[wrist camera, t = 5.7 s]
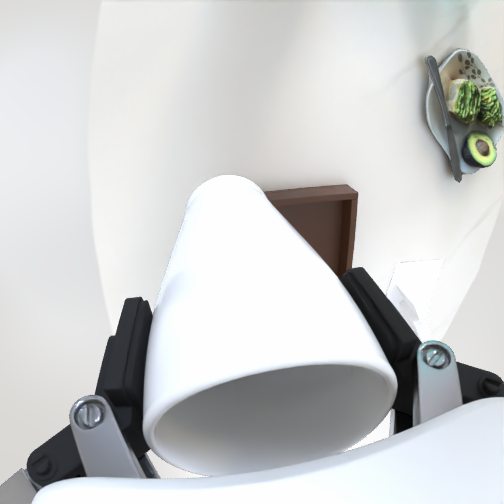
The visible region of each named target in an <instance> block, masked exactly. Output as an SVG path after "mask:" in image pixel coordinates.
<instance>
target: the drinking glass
mask: <svg viewBox="0 0 504 504" xmlns="http://www.w3.org/2000/svg"><path fill="white" fill-rule="evenodd" d="M397 390H398V383H397V378H396V375H395V372H394V370H393V368H392V367H391V365H390V363H389V361H388V360H387V358H386V356H385V354H384V352H383V350H382V348H381V346H380V344H379V342H378V340H377V338H376V336H375V335H374V333H373V331H372V329H371V327H370V326H369V324H368V322H367V320H366V319H365V317H364V315H363V314H362V312H361V310H360V309H359V307H358V306H357V304H356V303H355V301H354V300H353V298H352V297H351V295H350V294H349V292H348V291H347V289H346V288H345V287H344V285H343V284H342V282H341V281H340V280H339V278H338V277H337V276H336V275H335V273H334V272H333V271H332V269H331V268H330V267H329V266H328V265H327V263H326V262H325V261H324V260H323V259H322V258H321V256H320V255H319V254H318V253H317V252H316V251H315V250H314V249H313V247H312V246H311V245H310V244H309V243H308V242H307V241H306V240H305V239H304V238H303V237H302V235H301V234H300V233H299V232H298V231H297V230H296V229H295V228H294V227H293V226H292V225H291V224H290V223H289V222H288V220H287V219H286V218H285V217H284V216H283V215H282V214H281V213H280V212H279V211H278V210H277V209H276V208H275V206H274V205H273V204H272V203H271V202H270V201H269V200H268V198H267V197H266V195H265V194H264V192H263V191H262V190H261V189H260V188H259V187H258V186H257V185H256V184H255V183H254V182H252V181H250V180H248V179H246V178H244V177H240V176H236V175H222V176H217V177H214V178H211V179H209V180H207V181H205V182H204V183H202V184H201V185H200V186H199V187H198V188H197V189H196V190H195V191H194V192H193V193H192V195H191V196H190V198H189V200H188V203H187V205H186V209H185V215H184V220H183V222H182V225H181V228H180V231H179V234H178V237H177V240H176V243H175V246H174V248H173V251H172V254H171V257H170V260H169V263H168V266H167V269H166V272H165V275H164V278H163V281H162V284H161V287H160V291H159V294H158V298H157V301H156V305H155V309H154V313H153V317H152V322H151V327H150V332H149V338H148V345H147V353H146V362H145V374H144V390H143V426H142V430H143V435H144V438H145V441H146V443H147V444H148V446H149V447H150V449H151V450H152V451H153V452H154V453H155V454H156V455H157V456H158V457H160V458H161V459H162V460H164V461H165V462H167V463H169V464H171V465H173V466H175V467H177V468H180V469H182V470H185V471H188V472H191V473H195V474H200V475H205V476H210V477H214V476H225V475H234V474H242V473H250V472H257V471H263V470H269V469H275V468H280V467H286V466H291V465H295V464H300V463H304V462H309V461H313V460H317V459H321V458H325V457H329V456H332V455H336V454H339V453H341V452H343V451H345V450H346V449H348V448H350V447H352V446H353V445H355V444H356V443H358V442H359V441H361V440H362V439H363V438H365V437H366V436H367V435H368V434H370V433H371V432H372V431H373V430H374V429H375V428H376V427H377V426H378V425H379V424H380V423H381V422H382V421H383V419H384V418H385V417H386V415H387V414H388V412H389V411H390V410H391V408H392V406H393V404H394V401H395V399H396V395H397Z"/></svg>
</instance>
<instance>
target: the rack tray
mask: <svg viewBox="0 0 504 504" xmlns="http://www.w3.org/2000/svg"><path fill="white" fill-rule="evenodd" d="M264 194H265V195H266V197H267V198H268V200H269V201H270V202H271V203H272V204H273V205H274V206H275V208H276V209H277V210H278V211H279V212H280V213H281V214H282V215H283V216H284V217H285V218H286V219H287V220H288V222H289V223H290V224H291V225H292V226H293V227H294V228H295V229H296V230H297V231H298V232H299V233H300V234H301V235H302V237H303V238H304V239H305V240H306V241H307V242H308V243H309V244H310V245H311V246H312V247H313V249H314V250H315V251H316V252H317V253H318V254H319V255H320V256H321V258H322V259H323V260H324V261H325V262H326V263H327V265H328V266H329V267H330V268H331V269H332V271H333V272H334V273H335V275H336V276H337V277H338V278H339V280H340V281H341V280H342V275H343V274H345V273H346V271H347V270H348V269H352V260H353V250H354V240H355V229H356V216H357V201H358V192H357V191H355V190H354V189H352V188H351V187H350V186H348V185H347V184H346V185H333V186H321V187H309V188H298V189H288V190H278V191H269V192H264Z"/></svg>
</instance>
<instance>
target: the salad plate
mask: <svg viewBox="0 0 504 504" xmlns="http://www.w3.org/2000/svg"><path fill="white" fill-rule="evenodd" d="M425 64H426V68H427V71H428V74H429V85H428V90H427V94H426V119H427V122H428V125H429V127H430V129H431V131H432V133H433V135H434V136H435V138H436V140H437V141H438V142H439V144H440V145H441V146H442V148H443V149H444V150H445V152H446V153H447V155H448V157H449V160H450V164H451V168H452V172H453V175H454V178H455V180H456V181H458V182H459V183H460V181H461V180H462V177H461V176H462V175H463V174H472V173H475V172H477V171H478V170H479V169H480V168H484V167H488V166H490V165H492V164H493V162H494V161H495V159H496V156H497V153H496V150H497V149H496V148H495V146H496V144H497V142H498V141H499V139H500V137H501V135H502V133H503V131H504V102H503V99H502V97H501V95H500V93H499V91H498V89H497V87H496V86H495V84H494V82H493V81H492V78H491V77H490V75H489V74H488V72H487V69H486V68H485V67H484V65H483V63H482V62H481V60H480V59H479V58H478V56H477V55H476V54H474V53H473V52H471V51H469V50H465V49H460V48H459V49H456V50H455V51H454V52H453V53H451V54H450V55H449V56H448V57H447V58H446V59H445V60H444V62H443V63H442V65H441V66H439V68H438V66H437V63H436V60H435V58H434V57H433V56H426V57H425Z"/></svg>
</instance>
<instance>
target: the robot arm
mask: <svg viewBox="0 0 504 504" xmlns="http://www.w3.org/2000/svg"><path fill="white" fill-rule="evenodd" d="M341 282H342V284H343V285H344V287H345V288H346V289H347V291H348V292H349V294H350V295H351V297H352V298H353V300H354V301H355V303H356V304H357V306H358V307H359V309H360V310H361V312H362V314H363V315H364V317H365V319H366V320H367V322H368V324H369V326H370V327H371V329H372V331H373V333H374V335H375V336H376V338H377V340H378V342H379V344H380V346H381V348H382V350H383V352H384V354H385V356H386V358H387V360H388V361H389V363H390V365H391V367H392V368H393V370H394V372H395V375H396V378H397V383H398V390H397V395H396V399H395V401H394V404H393V406H392V408H391V416H390V432H389V437H388V438H385V439H382V440H379V441H377V442H374V443H371V444H368V445H365V446H362V447H359V448H356V449H353V450H349V451H346V452H343V453H339V454H336V455H332V456H329V457H325V458H321V459H317V460H313V461H309V462H304V463H300V464H295V465H291V466H286V467H280V468H275V469H269V470H263V471H257V472H250V473H242V474H234V475H225V476H214V477H200V478H175V479H161V478H160V476H159V475H158V473H157V471H156V469H155V468H154V466H153V464H152V462H151V460H150V459H149V457H148V455H147V453H146V452H147V451H149V450H150V447H149V446H148V444H147V443H146V441H145V438H144V435H143V430H142V426H143V390H144V374H145V362H146V353H147V345H148V338H149V332H150V327H151V322H152V317H153V315H152V312H151V309H150V306H149V303H148V301H147V300H146V301H143V299H142V297H135V298H127V299H126V300H125V303H124V306H123V309H122V313H121V316H120V320H119V324H118V327H117V331H116V335H115V336H110V337H109V339H108V342H107V346H106V350H105V354H104V358H103V361H102V365H101V370H100V374H99V378H98V383H97V387H96V391H95V395H88V396H84V397H82V398H80V399H78V400H77V402H75V403H74V405H73V406H72V408H71V410H70V414H69V418H70V425H68V426H67V427H65V428H64V429H63V430H61V431H60V432H59V433H57V434H56V435H55V436H53V437H52V438H51V439H49V440H48V441H46V442H45V443H44V444H43V445H41V446H40V447H38V448H37V449H35V450H34V451H33V452H32V453H31V454H30V456H29V458H28V461H27V469H25V470H24V469H22V468H21V469H20V470H19V471H17V472H16V473H15V474H14V475H13V476H11V477H10V478H9V479H8V480H7V481H5V482H4V483H3V484H2V485H1V486H0V504H504V382H503V381H502V379H501V378H500V377H499V376H498V375H496V374H494V373H492V372H489V371H485V370H482V369H479V368H475V367H472V366H469V365H466V364H462V363H459V362H456V359H455V355H454V353H453V351H452V350H451V348H450V347H449V346H447V345H446V344H444V343H442V342H440V341H434V340H433V341H427V342H424V343H422V342H421V341H420V340H419V338H418V337H417V336H416V334H415V333H414V331H413V330H412V329H411V327H410V326H409V325H408V323H407V322H406V321H405V319H404V318H403V317H402V315H401V314H400V313H399V311H398V310H397V309H396V307H395V306H394V305H393V304H392V302H391V301H390V300H389V299H388V298H387V297H386V296H385V294H384V293H383V292H382V291H381V289H380V288H379V287H378V286H377V284H376V283H375V282H374V281H373V279H372V278H371V277H370V276H369V274H368V273H367V272H366V271H365V269H364V268H363V267H358V268H352V269H348V270H347V271H346V273H345V274H343V275H342V280H341Z"/></svg>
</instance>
